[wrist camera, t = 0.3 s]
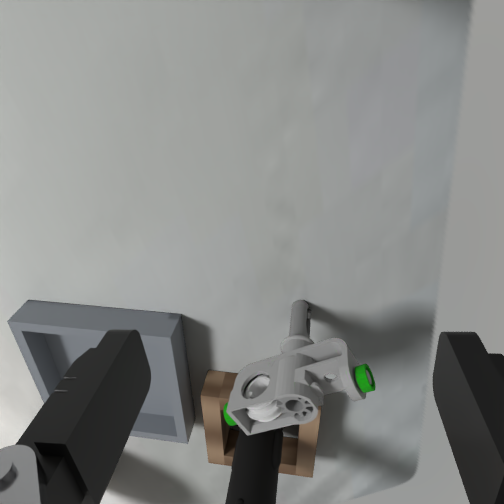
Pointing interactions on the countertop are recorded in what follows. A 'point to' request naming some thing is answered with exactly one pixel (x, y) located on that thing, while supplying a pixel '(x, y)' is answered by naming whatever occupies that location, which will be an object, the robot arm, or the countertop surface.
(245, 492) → the tube
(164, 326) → the tray
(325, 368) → the mechanical component
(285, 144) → the countertop surface
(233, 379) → the collar
